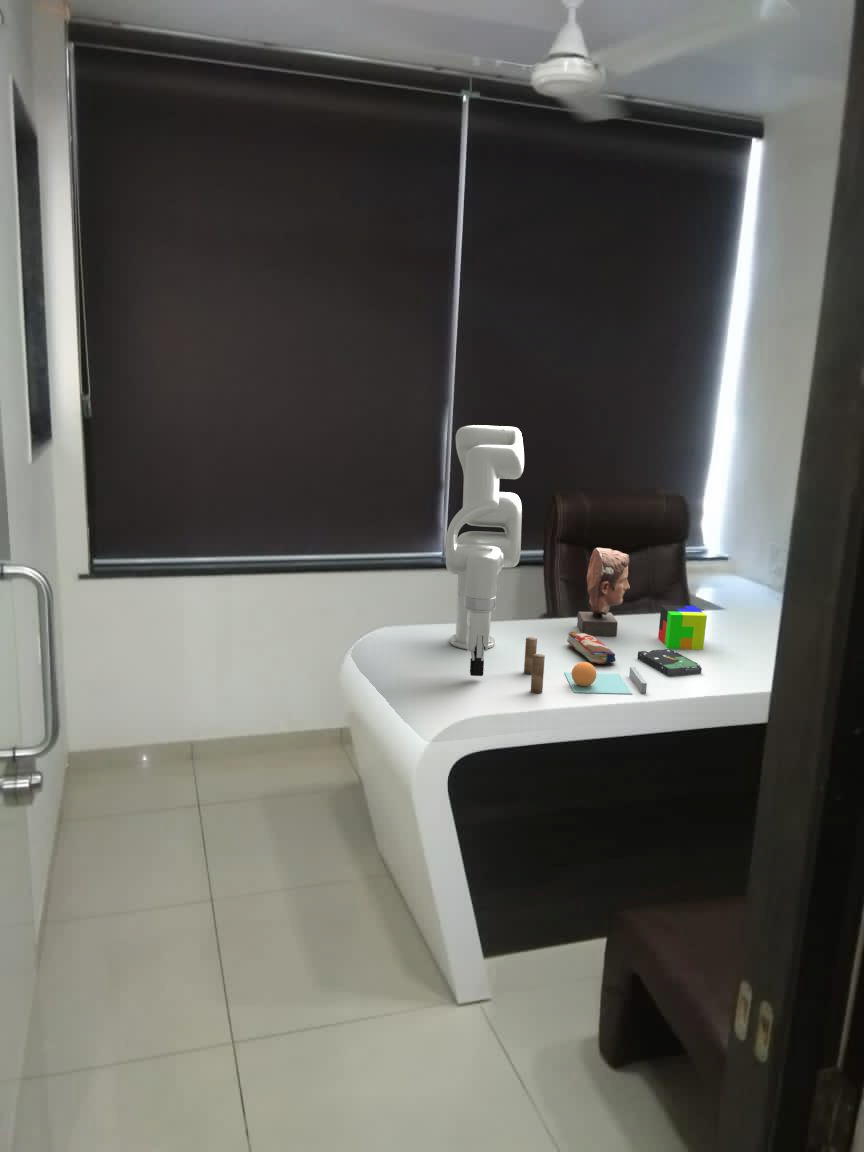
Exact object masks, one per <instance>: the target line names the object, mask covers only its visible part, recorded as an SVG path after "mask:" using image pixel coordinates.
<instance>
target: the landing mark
mask: <svg viewBox="0 0 864 1152" xmlns="http://www.w3.org/2000/svg"><path fill="white" fill-rule="evenodd" d="M564 675H565V678H566V679H567V682H568V683H569V685H570V688H571V690H572V691H573V693H574V694H606V695H608V694H609V695H612V694H613V695H633V692H632V691H631V690H630V688H629V686H628V685H627V684H626V682H625V681H624V679H623V678H622V676H621V675H620V673H606V672H605V673H604V672H603V673H602V672H601V673H600V672H599V673H597V672H596V679H595V681H594V682H593V683H592V684H591V685H589V686H586V687H583V686H579V685H577V684H576V683H575V682H574V681H573V679H572V672H564Z"/></svg>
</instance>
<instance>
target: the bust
mask: <svg viewBox="0 0 864 1152" xmlns="http://www.w3.org/2000/svg"><path fill="white" fill-rule="evenodd" d="M629 565H630V555H629V554H627V553H623V552H622V551H619V550H614V549H612V548H605V547H604V548H603V547H596V548H594V549H593V550H592V553H591V556H590V558H589V564H588V568H587V574H586V583H587V594H588V595H589V601H588V602H589V604H590V605H591V610H592V611H578V613H577V618H576V619H577V623H576V624H577V628H578V630H579V631H580V633H584V634H588V635H591V636H593V637H594V636H595V637H613V638H614V637H617V635H618V634H617V633H618V623H619V622H618V620H617V619H616V617H615V616H614V615H613V613H612V612H609V611H610V608H611V607H612V606H620V605H622V604H623V602H624V598H623V597H624V594H625V593H626V591H629V590H630V589H631V587H630V584H629V581H628V576H629Z"/></svg>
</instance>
